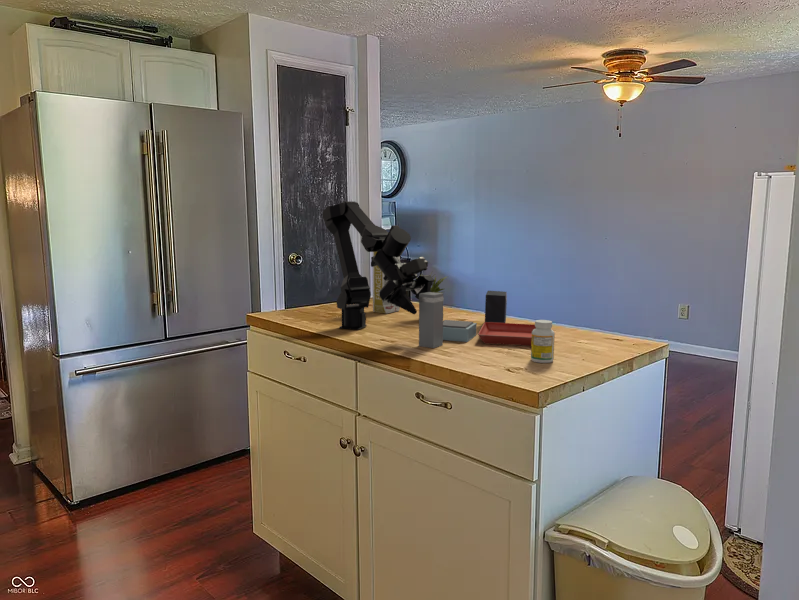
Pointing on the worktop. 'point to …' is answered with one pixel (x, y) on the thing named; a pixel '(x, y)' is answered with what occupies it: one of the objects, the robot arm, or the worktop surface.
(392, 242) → the robot arm
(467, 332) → the slate stand
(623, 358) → the worktop surface
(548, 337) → the supplement bottle
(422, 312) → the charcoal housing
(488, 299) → the small box
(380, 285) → the juice carton
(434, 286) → the house plant
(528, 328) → the plant saucer
